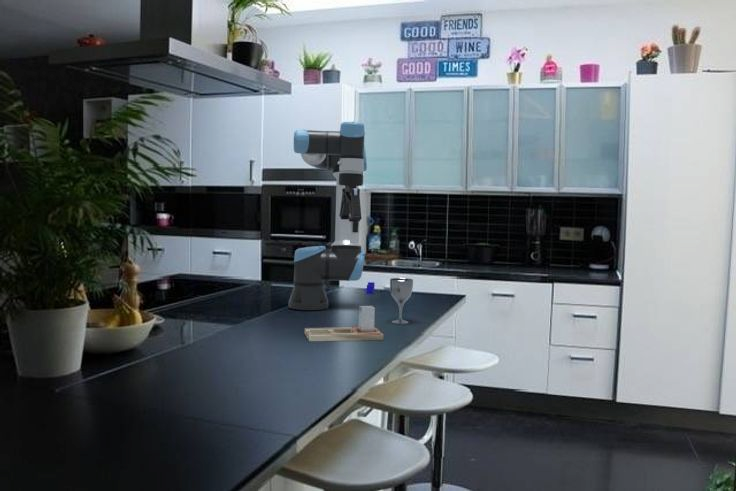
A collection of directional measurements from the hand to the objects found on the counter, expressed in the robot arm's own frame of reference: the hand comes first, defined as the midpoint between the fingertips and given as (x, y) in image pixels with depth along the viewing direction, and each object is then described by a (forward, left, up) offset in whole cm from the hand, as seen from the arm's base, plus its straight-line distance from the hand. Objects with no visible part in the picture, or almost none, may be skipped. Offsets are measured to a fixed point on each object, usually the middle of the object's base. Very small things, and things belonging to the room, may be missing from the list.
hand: (349, 241), depth 194 cm
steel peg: (+7, +5, -28) cm, 30 cm away
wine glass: (-15, +21, -29) cm, 39 cm away
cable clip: (-79, +25, -29) cm, 87 cm away
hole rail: (+7, -3, -28) cm, 29 cm away
